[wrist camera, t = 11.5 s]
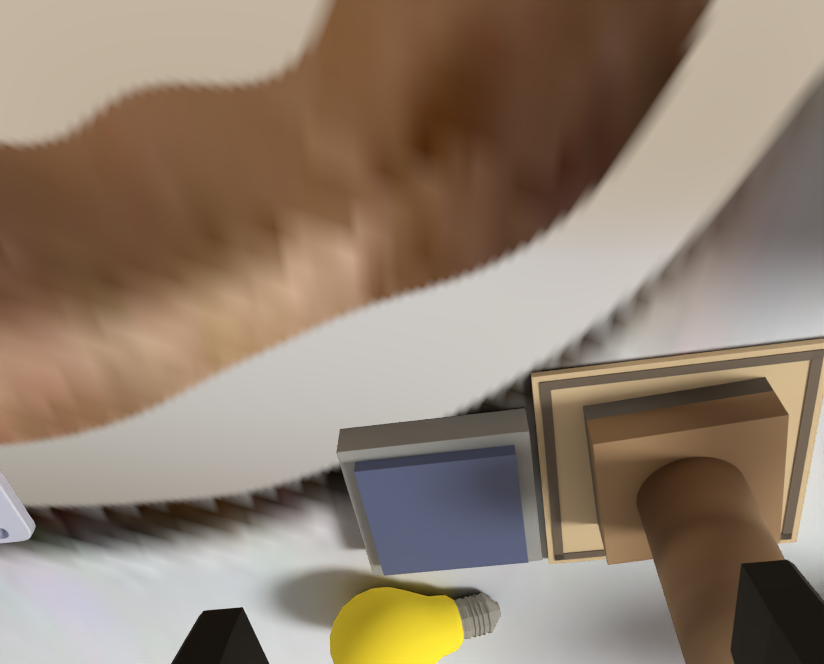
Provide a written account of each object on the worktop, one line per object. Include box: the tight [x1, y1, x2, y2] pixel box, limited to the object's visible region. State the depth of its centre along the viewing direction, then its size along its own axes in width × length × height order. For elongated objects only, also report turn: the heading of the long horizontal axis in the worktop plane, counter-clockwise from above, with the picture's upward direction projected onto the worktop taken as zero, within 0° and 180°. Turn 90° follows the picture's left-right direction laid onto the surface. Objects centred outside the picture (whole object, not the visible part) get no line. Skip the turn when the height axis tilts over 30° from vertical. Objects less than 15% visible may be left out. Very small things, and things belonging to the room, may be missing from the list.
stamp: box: [583, 377, 789, 664], centre depth 19 cm, size 5×5×6 cm
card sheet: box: [531, 338, 824, 564], centre depth 22 cm, size 8×8×1 cm
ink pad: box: [337, 408, 542, 575], centre depth 22 cm, size 6×6×1 cm
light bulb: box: [330, 587, 501, 664], centre depth 25 cm, size 3×6×4 cm, turn 92°
